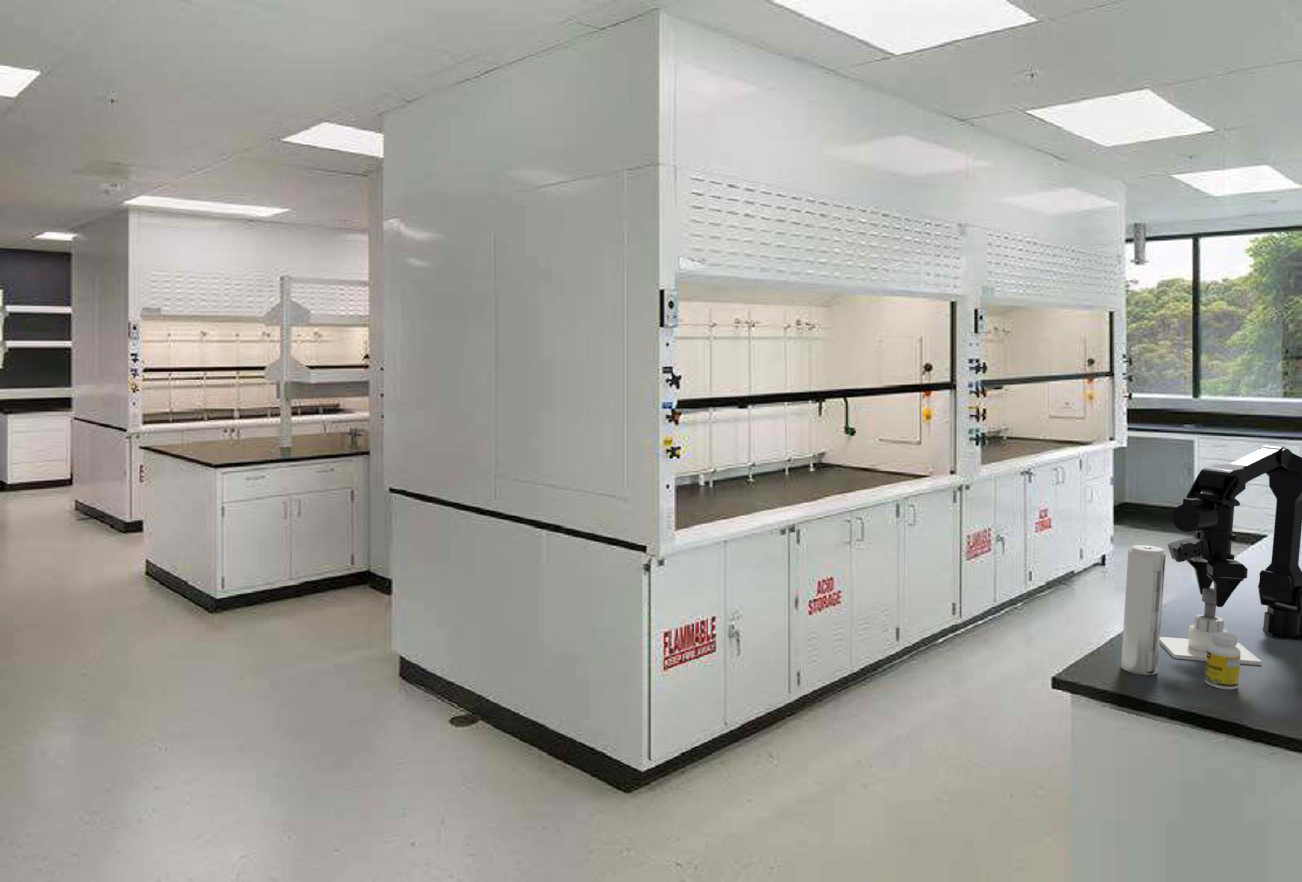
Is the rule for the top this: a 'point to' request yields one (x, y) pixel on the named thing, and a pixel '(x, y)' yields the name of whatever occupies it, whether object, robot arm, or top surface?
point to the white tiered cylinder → (1204, 632)
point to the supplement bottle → (1223, 662)
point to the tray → (1182, 651)
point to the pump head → (1209, 602)
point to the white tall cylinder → (1143, 609)
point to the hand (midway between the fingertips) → (1211, 600)
